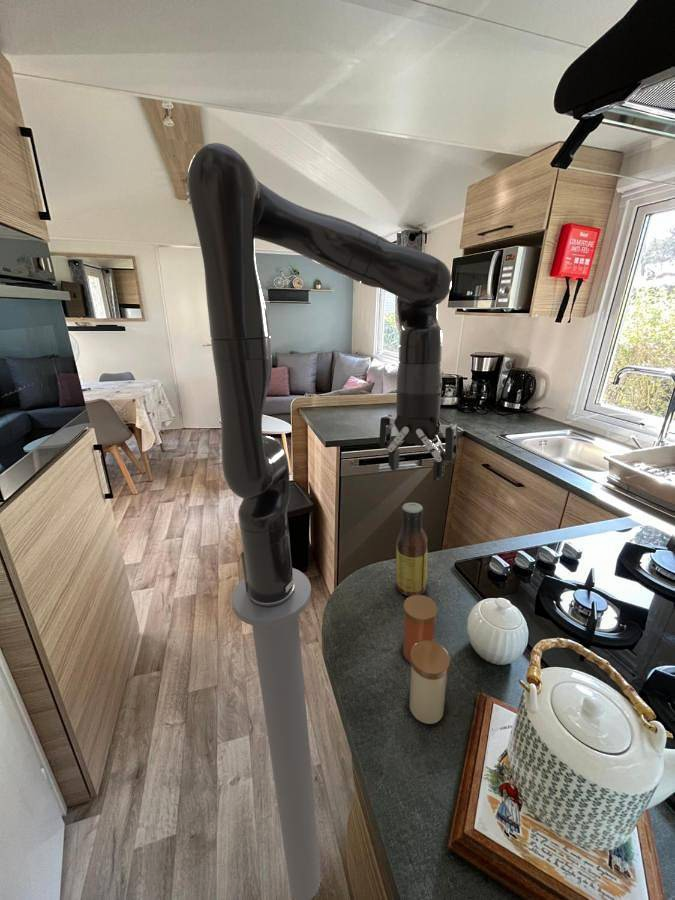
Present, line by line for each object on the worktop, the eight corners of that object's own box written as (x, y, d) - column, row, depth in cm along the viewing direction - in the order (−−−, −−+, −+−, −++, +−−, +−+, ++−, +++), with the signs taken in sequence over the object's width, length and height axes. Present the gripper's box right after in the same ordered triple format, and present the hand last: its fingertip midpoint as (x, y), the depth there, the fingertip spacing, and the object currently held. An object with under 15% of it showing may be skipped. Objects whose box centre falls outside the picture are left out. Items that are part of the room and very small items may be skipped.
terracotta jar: (396, 656, 65) (397, 610, 61) (410, 635, 69) (412, 590, 66) (426, 672, 62) (429, 624, 58) (438, 649, 66) (442, 603, 63)
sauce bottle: (411, 574, 85) (415, 495, 78) (432, 590, 80) (438, 507, 73) (389, 586, 81) (390, 504, 74) (409, 603, 76) (412, 518, 69)
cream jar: (401, 711, 56) (403, 660, 53) (417, 683, 60) (420, 634, 57) (436, 733, 53) (441, 680, 50) (450, 702, 57) (455, 651, 54)
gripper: (372, 388, 67) (372, 472, 72) (451, 396, 59) (444, 490, 64) (392, 381, 72) (391, 460, 78) (467, 387, 64) (459, 474, 70)
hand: (415, 473), depth 71 cm, fingers open, 8 cm apart
